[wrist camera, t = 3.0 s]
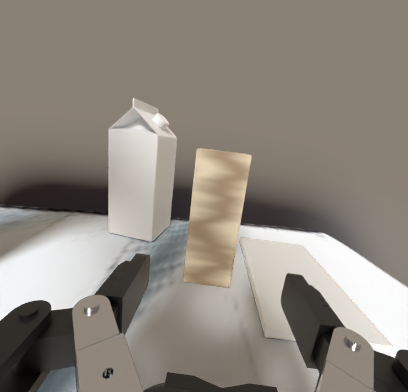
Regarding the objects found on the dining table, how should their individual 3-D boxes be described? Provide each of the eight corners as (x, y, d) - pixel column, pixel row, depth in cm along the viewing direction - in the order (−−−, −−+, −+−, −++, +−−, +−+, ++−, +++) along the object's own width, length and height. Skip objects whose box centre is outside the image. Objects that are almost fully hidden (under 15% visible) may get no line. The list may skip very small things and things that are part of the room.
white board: (264, 337, 17) (266, 329, 16) (239, 241, 33) (240, 237, 33) (389, 354, 16) (392, 346, 16) (301, 249, 33) (302, 245, 33)
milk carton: (107, 233, 31) (108, 96, 26) (133, 218, 37) (137, 107, 33) (151, 243, 29) (160, 100, 25) (170, 225, 36) (179, 111, 32)
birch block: (182, 281, 22) (196, 149, 19) (188, 257, 27) (200, 148, 24) (229, 287, 22) (251, 155, 19) (226, 262, 27) (243, 153, 24)
